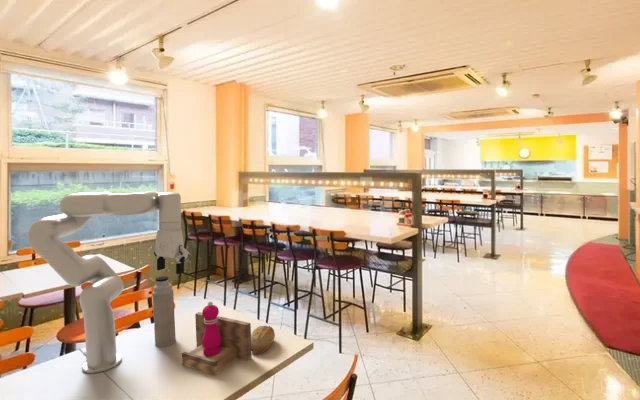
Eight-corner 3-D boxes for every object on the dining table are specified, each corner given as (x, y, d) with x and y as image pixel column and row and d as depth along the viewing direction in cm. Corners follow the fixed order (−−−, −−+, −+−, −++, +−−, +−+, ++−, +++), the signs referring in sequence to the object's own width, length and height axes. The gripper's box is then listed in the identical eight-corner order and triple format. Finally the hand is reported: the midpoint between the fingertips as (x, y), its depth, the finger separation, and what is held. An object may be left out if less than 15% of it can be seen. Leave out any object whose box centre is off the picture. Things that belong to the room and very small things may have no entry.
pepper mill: (216, 358, 131) (214, 305, 129) (198, 356, 132) (196, 304, 130) (225, 348, 138) (223, 298, 136) (208, 346, 139) (206, 297, 137)
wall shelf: (172, 361, 134) (170, 326, 133) (200, 344, 147) (198, 311, 146) (226, 378, 123) (225, 339, 122) (251, 358, 136) (250, 323, 135)
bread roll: (278, 338, 152) (278, 320, 151) (268, 356, 137) (268, 337, 137) (257, 337, 153) (257, 319, 153) (245, 355, 139) (244, 335, 138)
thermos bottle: (175, 336, 155) (172, 273, 152) (175, 344, 147) (172, 279, 145) (155, 339, 152) (152, 276, 149) (154, 348, 144) (150, 281, 142)
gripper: (144, 225, 130) (145, 270, 132) (179, 229, 123) (179, 277, 124) (161, 222, 137) (162, 265, 138) (195, 226, 130) (195, 272, 131)
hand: (170, 271), depth 131 cm, fingers open, 9 cm apart
